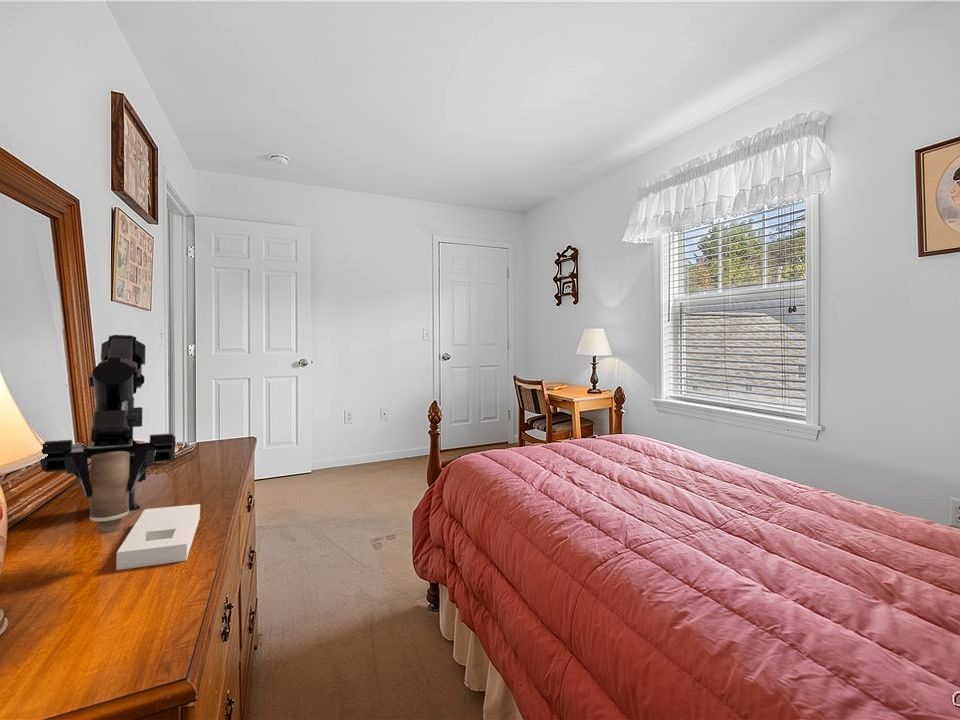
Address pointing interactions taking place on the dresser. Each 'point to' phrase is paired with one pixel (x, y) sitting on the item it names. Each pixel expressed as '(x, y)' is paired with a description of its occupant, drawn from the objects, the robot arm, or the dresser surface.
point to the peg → (109, 490)
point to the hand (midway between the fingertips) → (109, 494)
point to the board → (159, 537)
